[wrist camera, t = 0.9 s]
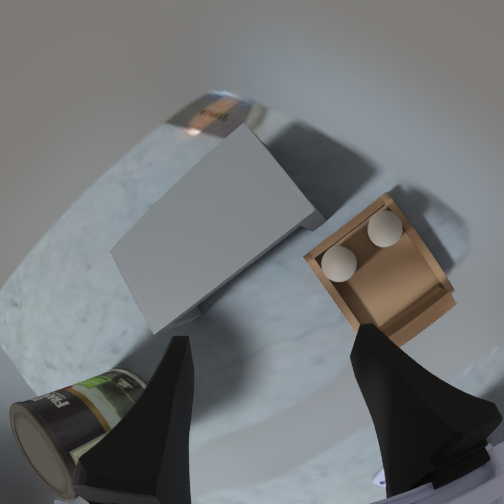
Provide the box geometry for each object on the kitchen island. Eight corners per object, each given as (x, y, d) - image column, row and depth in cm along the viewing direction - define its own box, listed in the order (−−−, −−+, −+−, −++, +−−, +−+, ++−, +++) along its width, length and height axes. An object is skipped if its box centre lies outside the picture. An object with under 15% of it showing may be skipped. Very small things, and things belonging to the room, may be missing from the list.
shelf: (326, 220, 24) (315, 209, 19) (192, 322, 28) (154, 334, 23) (268, 148, 26) (243, 122, 21) (150, 252, 30) (110, 251, 25)
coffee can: (89, 374, 34) (-2, 403, 21) (143, 361, 31) (35, 402, 17) (120, 445, 32) (41, 490, 19) (179, 445, 29) (92, 511, 16)
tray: (448, 288, 21) (468, 295, 16) (369, 347, 23) (370, 368, 18) (385, 196, 23) (390, 181, 18) (307, 256, 25) (293, 256, 20)
